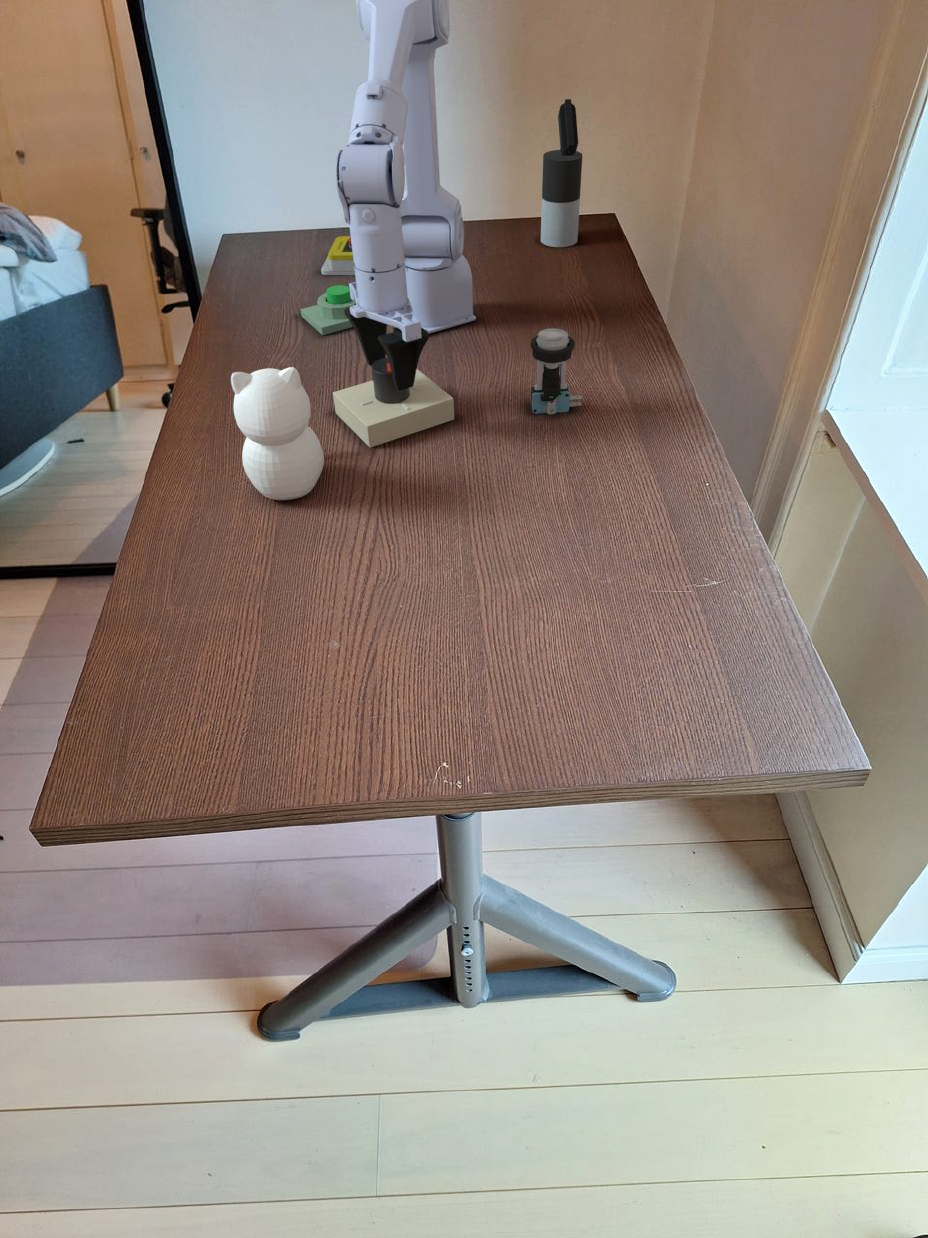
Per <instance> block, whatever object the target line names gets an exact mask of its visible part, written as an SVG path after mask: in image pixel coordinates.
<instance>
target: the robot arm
mask: <svg viewBox="0 0 928 1238" xmlns="http://www.w3.org/2000/svg"><path fill="white" fill-rule="evenodd" d="M355 3H356V5H355V6H356V13H357V19H358V23H359V27H360V29H361V31H362V32H363V34H364V39H366V40H368V41H369V54H368V55H369V56H368V57H369V58H368V72H367V73H368V74H367V81H364V82H363V83H361V84H360V85H359V87H358V88H357V90H356V92H355V95H354V96H355V97H354V101H353V109H352V114H351V121H350V127H349V134H348V139H347V144H346V145H345V147H344V149H339V150H338V151H337V154H336V159H335V181H336V182H335V183H336V190H337V194H338V198H339V201H340V203H341V207H342V211H343V219H344V222H345V224H348V226H349V234H350V235H349V236H351V243H352V252H353V260H354V269H355V275H354V277H355V281H354V282H350V283H348V287H349V288H350V296H351V299H352V300H353V301H356V303H355V304H354V306H351V307H348V308H346V309H345V310H344V313H345V315H346V316H347V318H348V319H349V321H350V322H351V324H352V326H353V327H352V328H353V329H354V331H355V333H356V335H357V338H358V340H359V341H358V342H359V343H360V346H361V349H362V352H363V355H364V358H365V361H366V363H367V364H368V366H369V367H372V364H373V363H374V362H375V361H377V360H379V359H382V358H387V357H388V360H389V363H390V367H391V372H392V377H393V381H394V384H395V387H396V389H397V390H398V391H401V390H404V389H407V388H410V387H413V385H414V381H415V375H416V370H417V369H418V364H419V361H420V357H421V354H422V352H423V350H424V347H425V346H426V344H427V342H428V341H429V334H434V333H436V332H440V331H444V330H446V329H450V328H453V327H457V326H460V325H464V324H467V323H470V322H474V321H476V319H477V317H476V315H474V296H473V295H474V293H473V273H472V270H471V269H472V268H471V265H470V264H469V261H468V259H467V258H466V257H465V256H464V255H463V252H464V245H465V244H464V243H465V225H464V219H463V216H462V215H463V214H462V204H461V203H460V199H459V198H457V196H455V195H454V194H453V193H451V192H450V191H448V190H447V189H446V188H444V187H443V186H442V185H441V179H440V177H441V175H440V160H439V159H440V158H439V157H440V156H439V139H438V122H437V121H438V120H437V103H436V102H437V101H436V99H437V98H436V82H435V58H436V52H437V49H439V48H441V47H443V46H446V45H448V44H449V38H450V35H451V34H450V31H451V28H450V26H451V25H450V4H449V0H355ZM405 186H406V189H405ZM388 326H390V327H393V328H392V329H393V332H388V333H387V328H388Z"/></svg>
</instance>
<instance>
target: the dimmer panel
mask: <svg viewBox="0 0 928 1238" xmlns="http://www.w3.org/2000/svg"><path fill="white" fill-rule="evenodd" d="M409 389H410V395H409V397H408V398H407V399H406V400H404V401H402V402H398V403H383V402H380V401H378V400H377V399H376V398H375V393H374V384H373V379H372V380H369V381H366V382H362V383H359V384H356V385H352V386H349V387H346V388H343V389H339V390H337V391H333V392H332V397H333V398H332V399H333V404H334V411H335V415H337V416H338V417H339V418H340V419H341V420H342V421H343V422H344V423H345V424H346V425H347V426H348V427H349V428H350V429H351V430H352V431H353V432H354V434H356V436H358V438H360V440H361V441H363V442H364V443H365V445H367V446H368V448H370V449H372V448H374V447H376V446H379V445H382V444H385V443H389V442H392V441H394V440H397V439H400V438H403V437H407V436H409V435H412V434H416V433H419V432H421V431H424V430H428V429H430V428H433V427H436V426H439V425H442V424H445V423H448V422H452V421H454V420H455V404H454V403H455V401H454V398H453V396H451V395H450V394H449V393H448V392H446V391H445V390H444V389H443V388H441V387H440V386H439V385H438V384H437V383H435V382H434V381H433V380H431V379H430V378H429V377H428V376H427V375H425V374H424V373H423V372H422V371H421V370H419V369H418V368H417V370H416V375H415V381H414V385H413V387H410V388H409Z"/></svg>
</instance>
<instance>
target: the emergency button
mask: <svg viewBox="0 0 928 1238" xmlns="http://www.w3.org/2000/svg"><path fill="white" fill-rule="evenodd" d="M320 272H321V273H320V274H321V275H323V276H355V269H354V260H353V252H352V243H351V235H341V236H337V237H336V238H335V240H334V241H333V244H332V245H331V247H330V249H329V250H328V253H327V257H326V259H325V261H324V263H323V264H322V267H321V268H320Z"/></svg>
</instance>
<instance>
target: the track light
mask: <svg viewBox="0 0 928 1238" xmlns="http://www.w3.org/2000/svg"><path fill="white" fill-rule="evenodd" d="M557 121H558V122H557V123H558V134H559V135H558V136H559V147H560V148H559V149H554V150H548V151H546V152H544V153H543V155H542V179H541V180H542V181H541V182H542V183H541V216H540V217H541V219H540V220H541V221H540V242H541V244H542V245H545V246H547V247H550V248H551V247H553V248H565V247H566V248H567V247H571V246H574V245H576V244H577V243H578V241H579V239H578V237H579V222H580V220H579V219H580V205H581V204H580V203H581V188H582V169H583V152H581V151H579V150H577V149H578V147H579V133H578V119H577V109H576V106H575V104H574V103H572V99H571V98H566V99H564V102H563V103H562V104H561V105H560V106H559V110H558V114H557Z"/></svg>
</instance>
